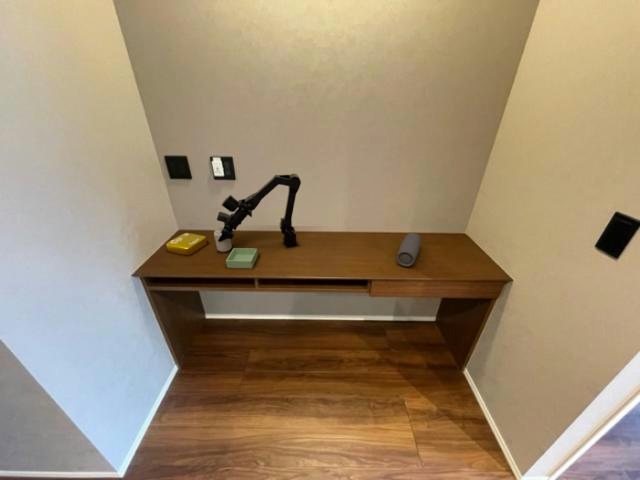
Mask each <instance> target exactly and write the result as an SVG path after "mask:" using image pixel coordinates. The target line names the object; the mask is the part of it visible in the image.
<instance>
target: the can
mask: <svg viewBox="0 0 640 480" xmlns="http://www.w3.org/2000/svg"><path fill="white" fill-rule="evenodd" d="M223 227H224V226H220V227H217V228H215V229H214V231H213V236H214V240H215V244H216V250H217V251H218V252H221V253H226V252H229V251H231V249H233V247H232V241H231V240H232V239H230V238H229V239H226V240H223V241H221V242H219V241H218V240H219V238H220V236H221V234H222V233H221V230H222V229H223Z"/></svg>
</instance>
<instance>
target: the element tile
mask: <svg viewBox="0 0 640 480" xmlns="http://www.w3.org/2000/svg"><path fill="white" fill-rule="evenodd" d="M207 244H208V242H207V237H206V236H205V235H201V234H196V233H191V232H184V233H182V234H180V235H178V236H177V237H175V238H173V239H172V240H170V241H168V242H166V244H165V245H166V248H167V251H168V252H170V253H175V254H180V255H183V256H190V255H193V254H195V252H197V251H199V250H200V249H202V248H203V247H204V246H206V245H207Z"/></svg>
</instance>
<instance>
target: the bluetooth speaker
mask: <svg viewBox="0 0 640 480" xmlns="http://www.w3.org/2000/svg"><path fill="white" fill-rule="evenodd" d="M421 239H422V238H421V236H420V235H419V234H418V233H417V232H408V233H407V234H406V235H405V236H404V238H403V240H402V242H401V244H400V246H399V249H398V251H397V254H396V261H397V263H398V264H399V265H401V266H403V267H411V266H412V265H414V263H415V262H416V259H417V257H418V254H419V252H420V249H421V244H422V240H421Z"/></svg>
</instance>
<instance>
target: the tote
mask: <svg viewBox="0 0 640 480" xmlns="http://www.w3.org/2000/svg"><path fill="white" fill-rule="evenodd" d="M258 256H259V253H258V248H251V247H249V248H248V247H242V248H241V247H232V250H231V252H230V253H229V255H228V257H227V258H226V260H225V265H226V268H227V269H233V268H234V269H253V267H254V265H255V263H256V260H257V259H258Z"/></svg>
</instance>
